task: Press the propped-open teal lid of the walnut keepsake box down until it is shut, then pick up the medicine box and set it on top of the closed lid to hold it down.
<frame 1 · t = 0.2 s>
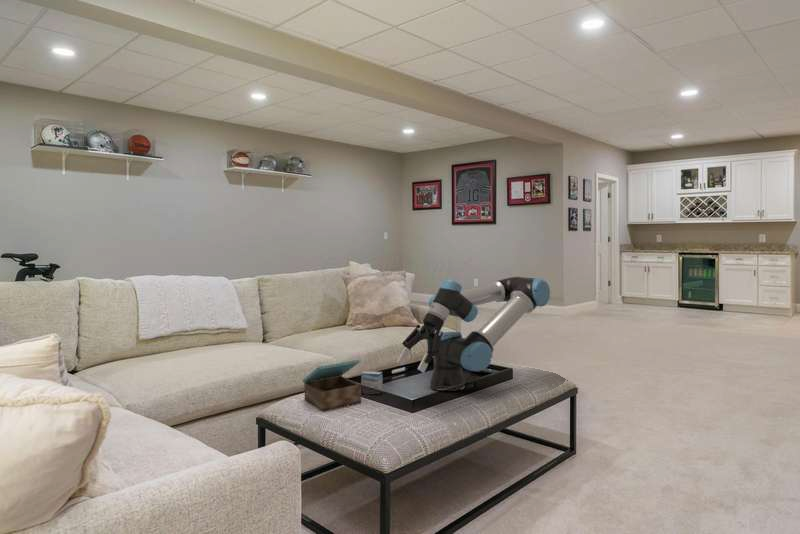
hand: (409, 367, 192), 16 cm above the table, tool tilted 35°, fingers open, 13 cm apart
medicine box: (372, 393, 213), on the table
crate: (332, 401, 203), on the table
lid: (330, 371, 202), point 12 cm above the table, hinge at 30.0°
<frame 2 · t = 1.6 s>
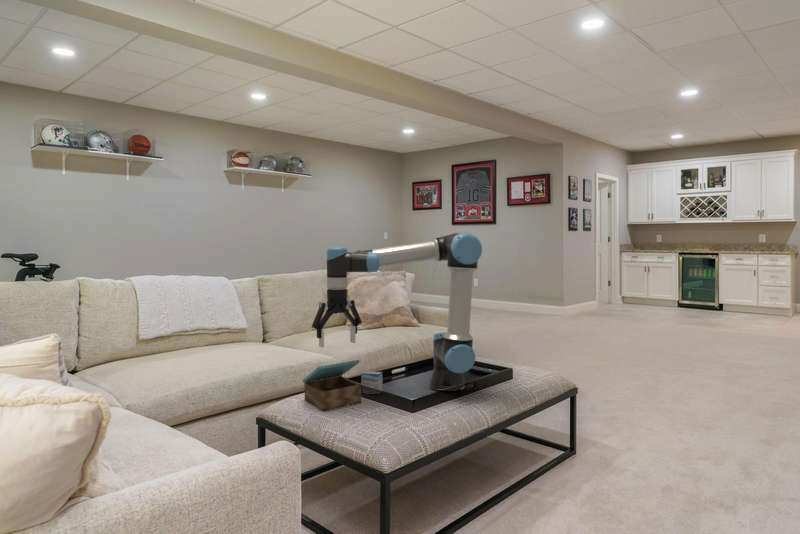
hand: (337, 344, 197), 23 cm above the table, tool pointing down, fingers open, 13 cm apart
nothing on the table moved.
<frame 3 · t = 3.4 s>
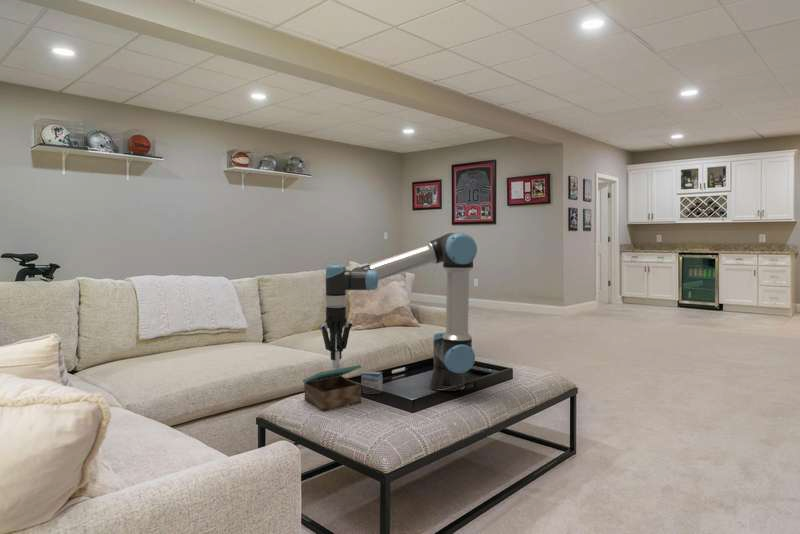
hand: (336, 368, 198), 14 cm above the table, tool pointing down, fingers closed
lid: (331, 373, 202), point 11 cm above the table, hinge at 22.8°, touching gripper
everything else where it was.
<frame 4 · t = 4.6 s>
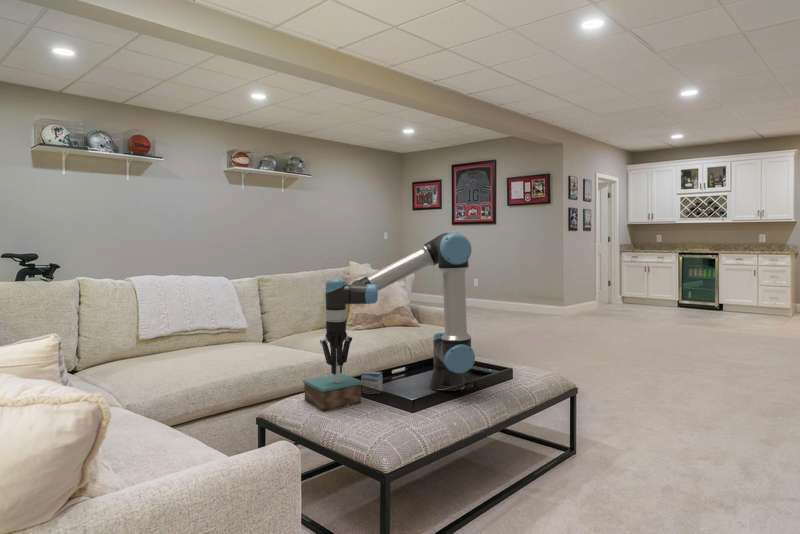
hand: (336, 381, 198), 9 cm above the table, tool pointing down, fingers closed
lid: (332, 382, 202), point 8 cm above the table, hinge at 2.0°, touching gripper
everything else where it was.
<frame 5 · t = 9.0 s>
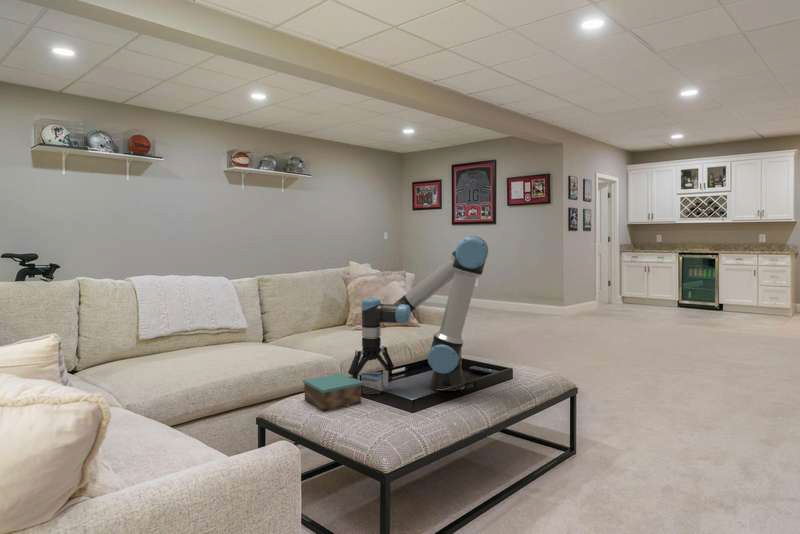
hand: (371, 388, 213), 2 cm above the table, tool pointing down, fingers open, 13 cm apart
lid: (332, 382, 202), point 8 cm above the table, hinge at 0.8°, touching gripper
everything else where it was.
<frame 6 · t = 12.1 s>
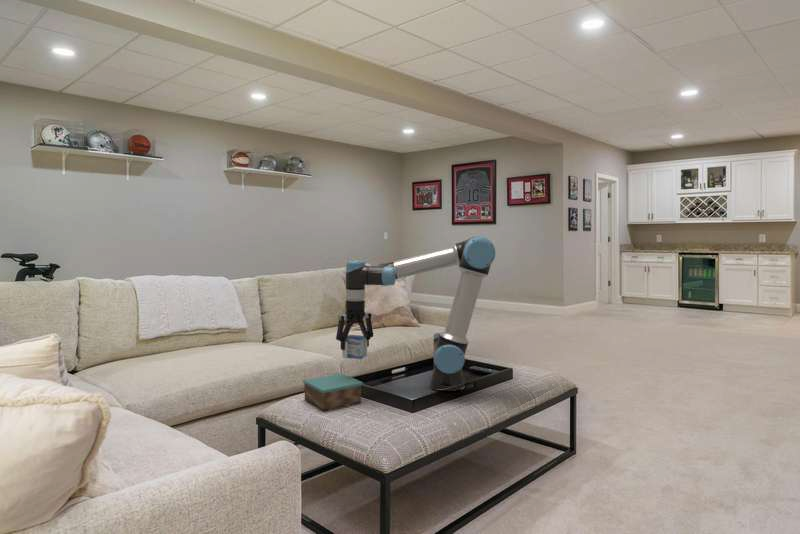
hand: (354, 356, 208), 16 cm above the table, tool pointing down, fingers closed on medicine box, 8 cm apart
medicine box: (354, 357, 208), point 16 cm above the table, touching gripper
lid: (332, 382, 202), point 8 cm above the table, hinge at 0.4°
when the fingers open (10 cm above the table, at t = 14.6 s): medicine box drops 1 cm, resting on lid.
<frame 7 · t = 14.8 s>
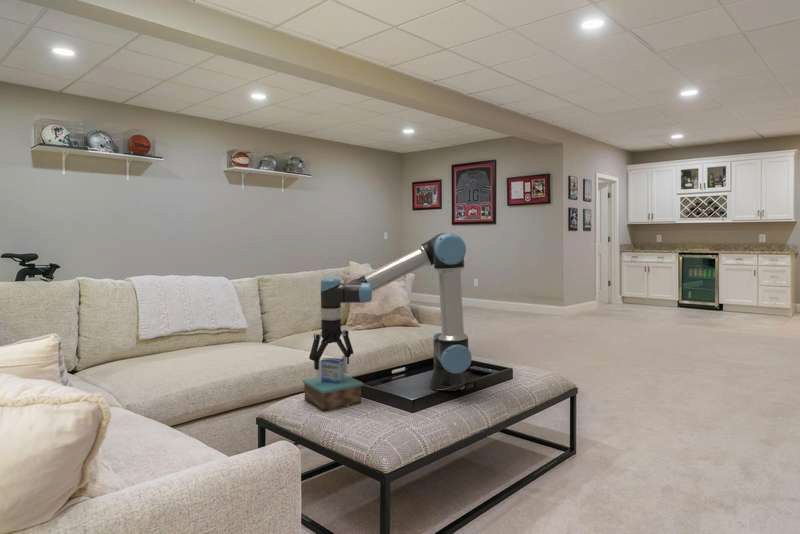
hand: (332, 375, 202), 10 cm above the table, tool pointing down, fingers open, 10 cm apart
medicine box: (332, 381, 202), point 8 cm above the table, touching lid
lid: (332, 382, 202), point 8 cm above the table, hinge at -0.1°, touching medicine box
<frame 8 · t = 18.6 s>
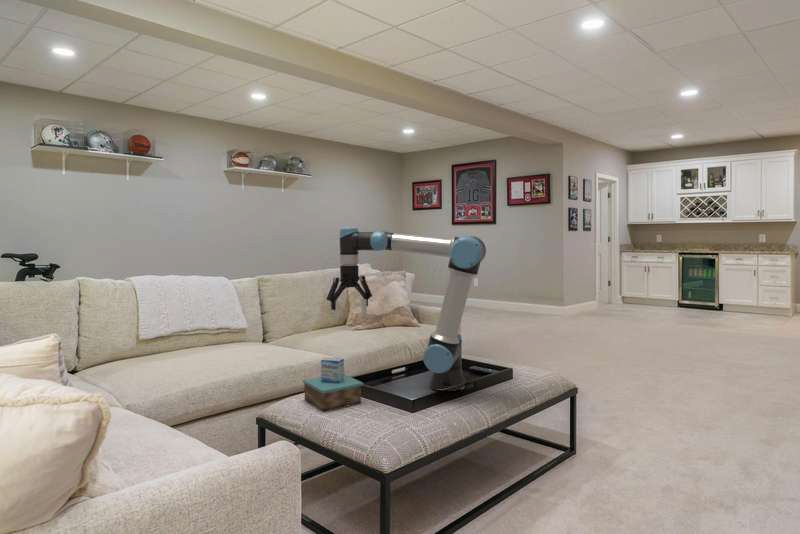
hand: (350, 316, 217), 31 cm above the table, tool pointing down, fingers open, 13 cm apart
nothing on the table moved.
at the end: lid at +0° (first picture: +30°); medicine box inside the target area on the crate (0.2 cm from its centre), point 7.8 cm above the crate's base; medicine box tilted 0° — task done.
